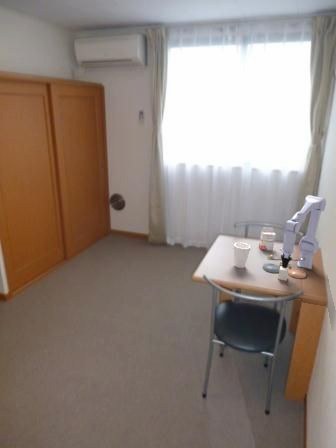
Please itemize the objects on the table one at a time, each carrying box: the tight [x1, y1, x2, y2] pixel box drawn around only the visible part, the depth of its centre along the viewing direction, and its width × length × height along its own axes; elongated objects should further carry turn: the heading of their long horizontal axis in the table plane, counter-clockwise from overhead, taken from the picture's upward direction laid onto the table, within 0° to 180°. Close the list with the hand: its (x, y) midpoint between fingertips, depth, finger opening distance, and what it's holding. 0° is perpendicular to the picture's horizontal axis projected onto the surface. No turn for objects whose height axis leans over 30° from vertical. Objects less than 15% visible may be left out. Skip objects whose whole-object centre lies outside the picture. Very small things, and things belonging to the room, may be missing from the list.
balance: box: [266, 254, 306, 269], centre depth 195 cm, size 5×22×8 cm, turn 67°
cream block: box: [277, 265, 289, 282], centre depth 181 cm, size 5×5×6 cm
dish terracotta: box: [288, 268, 307, 279], centre depth 187 cm, size 10×10×1 cm
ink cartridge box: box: [258, 226, 277, 251], centre depth 218 cm, size 9×5×15 cm, turn 92°
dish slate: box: [262, 263, 280, 274], centre depth 192 cm, size 10×10×1 cm
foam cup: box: [233, 242, 251, 269], centre depth 192 cm, size 10×9×13 cm
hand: (284, 265), depth 179 cm, fingers open, 7 cm apart
